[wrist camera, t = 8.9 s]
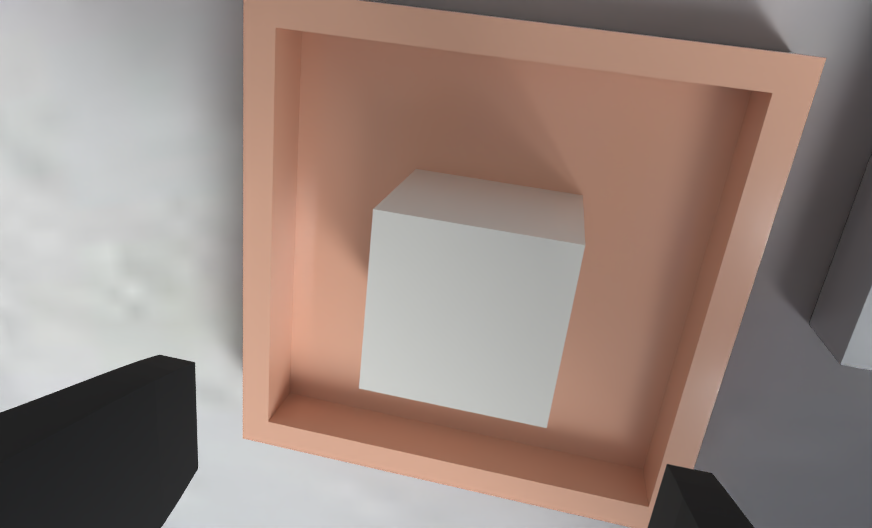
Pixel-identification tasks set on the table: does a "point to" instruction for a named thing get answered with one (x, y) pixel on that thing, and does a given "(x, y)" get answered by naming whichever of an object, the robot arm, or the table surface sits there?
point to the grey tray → (850, 287)
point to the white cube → (471, 294)
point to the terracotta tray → (520, 165)
